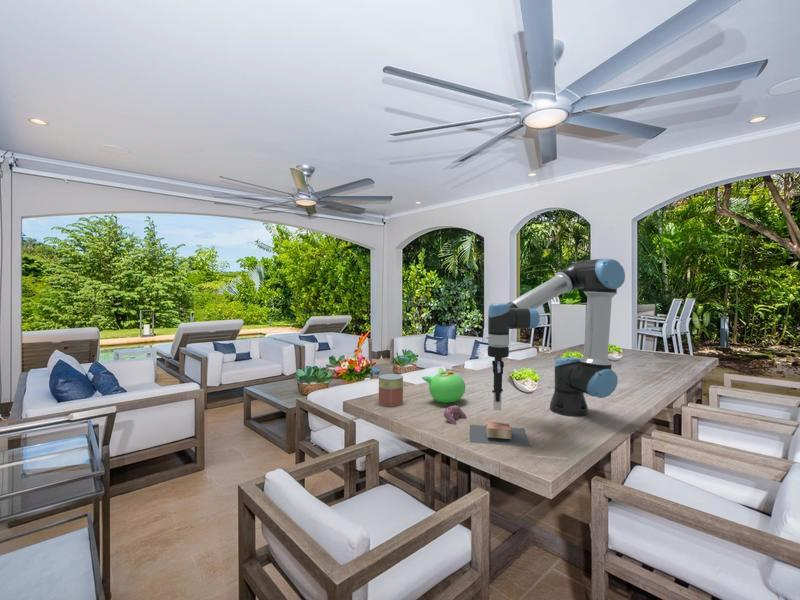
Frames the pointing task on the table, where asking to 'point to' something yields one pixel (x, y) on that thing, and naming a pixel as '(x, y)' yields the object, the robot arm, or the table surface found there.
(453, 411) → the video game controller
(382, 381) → the canned food
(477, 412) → the table surface
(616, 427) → the table surface
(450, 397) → the toy bird
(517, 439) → the rubber mat
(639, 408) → the table surface
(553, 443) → the table surface
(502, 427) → the oak tile
